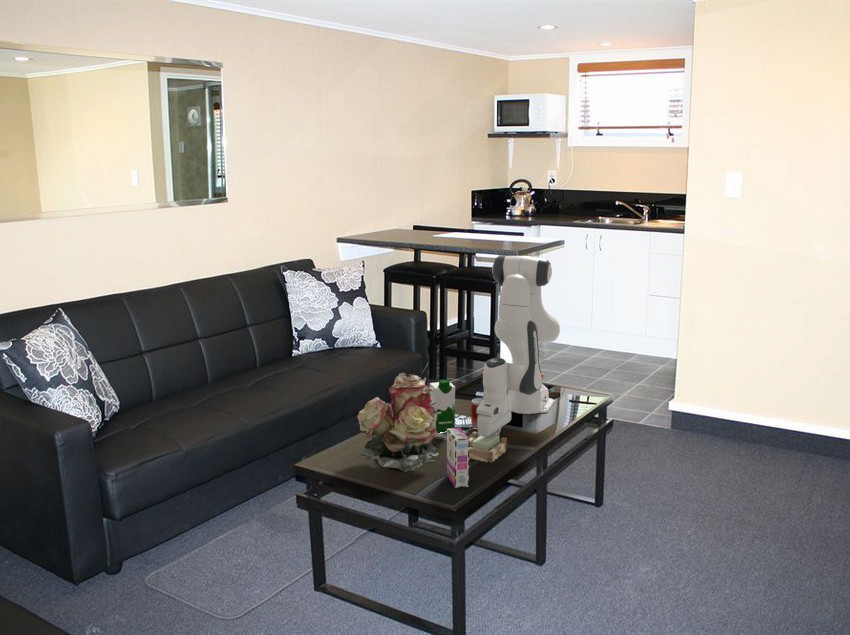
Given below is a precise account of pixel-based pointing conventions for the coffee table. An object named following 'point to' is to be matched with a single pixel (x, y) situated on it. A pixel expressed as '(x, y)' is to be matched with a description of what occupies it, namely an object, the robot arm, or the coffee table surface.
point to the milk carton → (443, 404)
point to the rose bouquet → (401, 424)
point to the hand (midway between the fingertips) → (495, 440)
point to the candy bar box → (458, 457)
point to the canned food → (475, 411)
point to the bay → (486, 455)
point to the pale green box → (486, 442)
